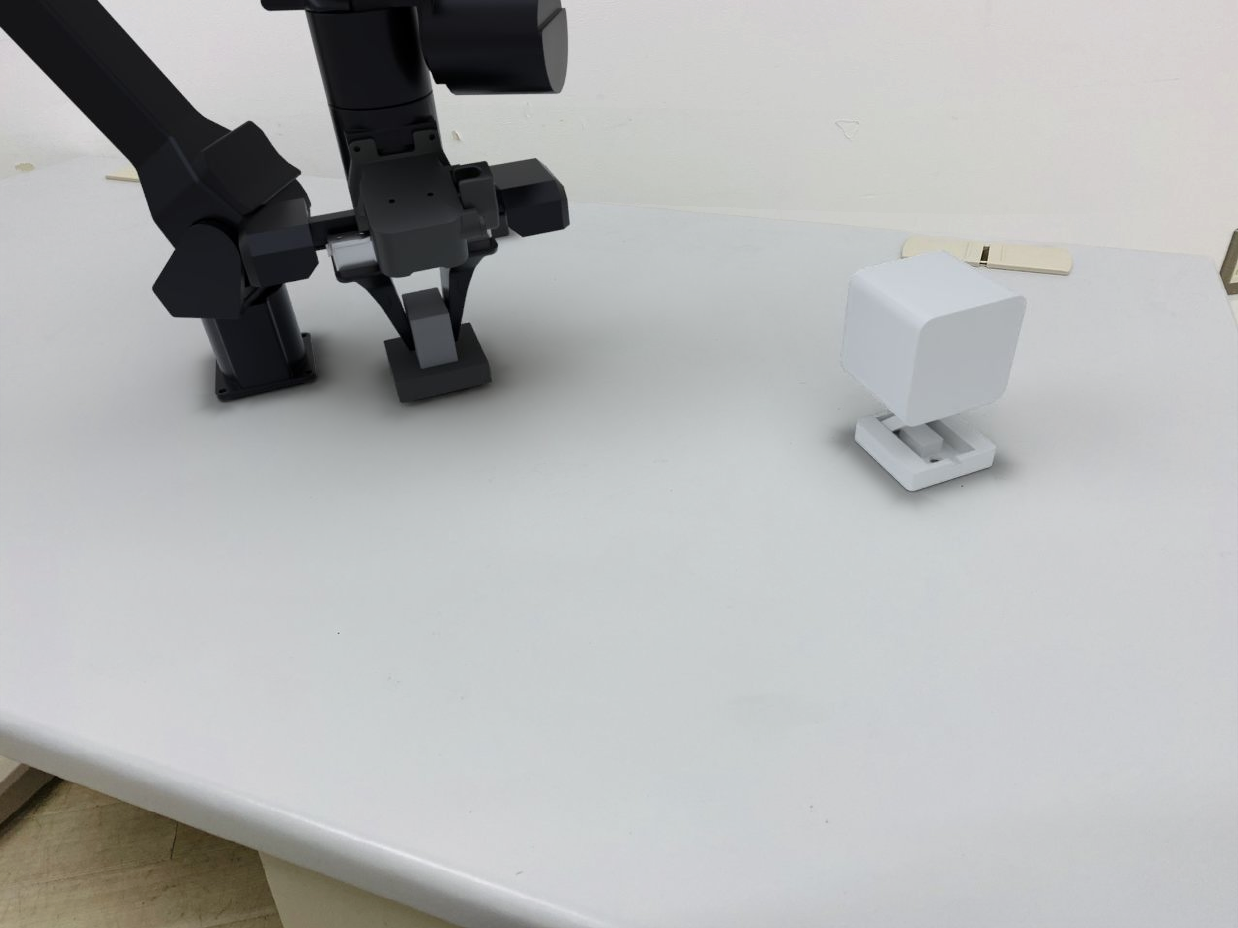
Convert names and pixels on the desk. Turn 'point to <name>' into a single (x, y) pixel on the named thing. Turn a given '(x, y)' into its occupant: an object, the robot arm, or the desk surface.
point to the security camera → (929, 361)
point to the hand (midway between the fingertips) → (432, 344)
